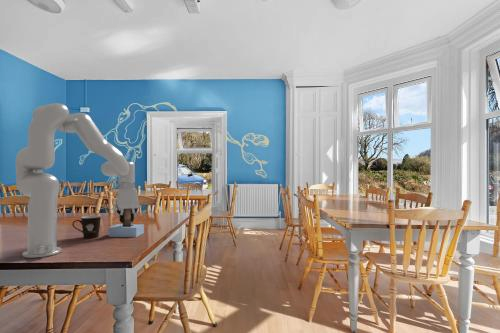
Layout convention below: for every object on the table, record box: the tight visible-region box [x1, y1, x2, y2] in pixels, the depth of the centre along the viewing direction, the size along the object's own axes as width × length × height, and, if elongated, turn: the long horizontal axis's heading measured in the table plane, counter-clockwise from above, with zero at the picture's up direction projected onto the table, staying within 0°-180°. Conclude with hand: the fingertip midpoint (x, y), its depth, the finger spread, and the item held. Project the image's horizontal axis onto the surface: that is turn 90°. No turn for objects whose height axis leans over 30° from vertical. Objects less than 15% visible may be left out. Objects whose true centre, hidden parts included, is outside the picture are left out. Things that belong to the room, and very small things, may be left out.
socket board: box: [108, 223, 145, 238], centre depth 153 cm, size 14×9×4 cm, turn 86°
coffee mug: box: [72, 215, 102, 240], centre depth 148 cm, size 12×9×10 cm
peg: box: [122, 208, 132, 227], centre depth 153 cm, size 4×4×10 cm
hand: (126, 221), depth 153 cm, fingers closed on peg, 4 cm apart
